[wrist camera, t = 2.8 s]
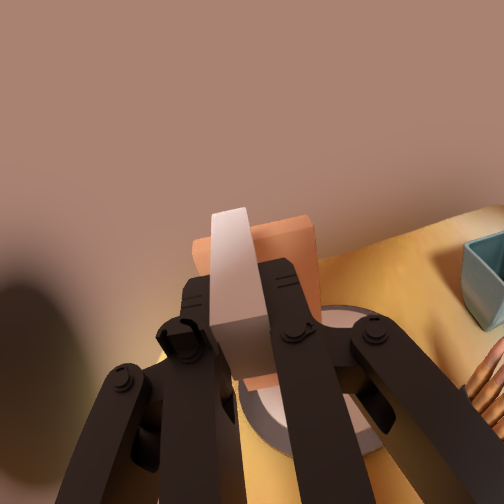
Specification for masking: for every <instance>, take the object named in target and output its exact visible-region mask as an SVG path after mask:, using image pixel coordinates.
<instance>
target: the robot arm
mask: <svg viewBox="0 0 504 504" xmlns="http://www.w3.org/2000/svg"><path fill="white" fill-rule="evenodd" d="M156 339H157V341H158V343H159V344H160V346H161V347H162V349H163V351H164V352H165V354H166V355H167V358H166V359H165V360H163V361H161V362H160V363H158V364H155V365H153V366H151V367H148V368H146V369H143V370H141V368H140V367H139V366H137V365H135V364H132V363H126V364H122V365H119V366H117V367H115V368H114V369H113V370H112V371H110V373H109V374H108V375H107V377H106V379H105V381H104V383H103V385H102V387H101V390H100V391H99V394H98V396H97V398H96V400H95V403H94V405H93V407H92V409H91V412H90V414H89V416H88V418H87V421H86V423H85V425H84V428H83V430H82V433H81V435H80V437H79V440H78V442H77V445H76V448H75V450H74V452H73V455H72V457H71V460H70V463H69V465H68V468H67V471H66V473H65V476H64V479H63V481H62V484H61V487H60V490H59V493H58V496H57V499H56V502H55V504H157V502H158V499H159V504H247V497H246V488H245V480H244V471H243V462H242V452H241V443H240V433H239V422H238V412H237V401H236V394H235V391H234V389H233V387H232V380H231V375H232V377H233V379H234V381H236V380H242V379H247V378H253V377H258V376H263V375H268V374H273V373H277V376H278V381H279V386H280V392H281V397H282V402H283V407H284V413H285V418H286V423H287V428H288V434H289V439H290V444H291V449H292V455H293V460H294V465H295V471H296V476H297V481H298V486H299V492H300V497H301V502H302V504H376V501H375V498H374V494H373V491H372V487H371V484H370V480H369V477H368V473H367V470H366V466H365V463H364V460H363V456H362V453H361V450H360V447H359V443H358V440H357V437H356V434H355V430H354V427H353V424H352V421H351V418H350V415H349V412H348V408H347V405H346V402H345V399H344V396H343V394H349V396H350V397H351V398H352V400H353V401H354V403H355V404H356V406H357V407H358V409H359V410H360V411H361V413H362V414H363V416H364V417H365V419H366V420H367V422H368V423H369V424H370V426H371V427H372V429H373V430H374V432H375V433H376V435H377V436H378V438H379V439H380V440H381V442H382V443H383V445H384V446H385V448H386V449H387V450H388V452H389V453H390V455H391V456H392V458H393V459H394V461H395V462H396V463H397V465H398V466H399V468H400V469H401V471H402V472H403V474H404V475H405V476H406V478H407V479H408V481H409V482H410V484H411V485H412V487H413V488H414V489H415V491H416V492H417V494H418V495H419V497H420V498H421V500H422V501H423V502H424V504H504V443H503V441H502V440H501V439H500V438H499V437H498V435H497V434H496V433H495V432H494V430H493V429H492V428H491V427H490V426H489V424H488V423H487V422H486V421H485V420H484V419H483V417H482V416H481V415H480V414H479V413H478V411H477V410H476V409H475V408H474V407H473V406H472V405H471V403H470V402H469V401H468V400H467V399H466V398H465V397H464V395H463V394H462V393H461V392H460V391H459V390H458V389H457V388H456V386H455V385H454V384H453V383H452V382H451V381H450V380H449V379H448V378H447V376H446V375H445V374H444V373H443V372H442V371H441V370H440V369H439V368H438V367H437V366H436V364H435V363H434V362H433V361H432V360H431V359H430V358H429V357H428V356H427V355H426V354H425V353H424V352H423V351H422V350H421V348H420V347H419V346H418V345H417V344H416V343H415V342H414V341H413V340H412V339H411V338H410V337H409V336H408V335H407V334H406V333H405V332H404V331H403V330H402V329H401V328H400V327H399V326H398V325H397V324H396V323H395V322H394V321H393V320H391V319H390V318H389V317H386V316H382V315H367V316H364V317H361V318H360V319H359V320H357V321H356V322H355V323H354V325H353V327H352V328H335V327H329V326H325V325H323V324H321V323H319V322H318V321H317V320H316V319H315V318H314V317H313V316H312V314H311V312H310V309H309V306H308V303H307V300H306V298H305V295H304V292H303V289H302V287H301V284H300V281H299V278H298V276H297V273H296V270H295V268H294V265H293V264H292V263H291V262H290V261H289V260H287V259H286V258H285V257H283V258H279V259H274V260H270V261H265V262H261V263H258V261H257V256H256V251H255V247H254V243H253V238H252V234H251V229H250V225H249V221H248V216H247V211H246V208H245V207H242V208H238V209H233V210H229V211H224V212H220V213H216V214H212V226H211V257H210V274H209V275H205V276H200V277H195V278H191V279H189V280H188V282H187V283H186V285H185V287H184V288H183V293H182V302H181V310H180V316H178V317H175V318H172V319H170V320H169V321H167V322H166V323H164V324H163V325H162V326H161V327H160V329H159V330H158V332H157V334H156Z"/></svg>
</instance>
